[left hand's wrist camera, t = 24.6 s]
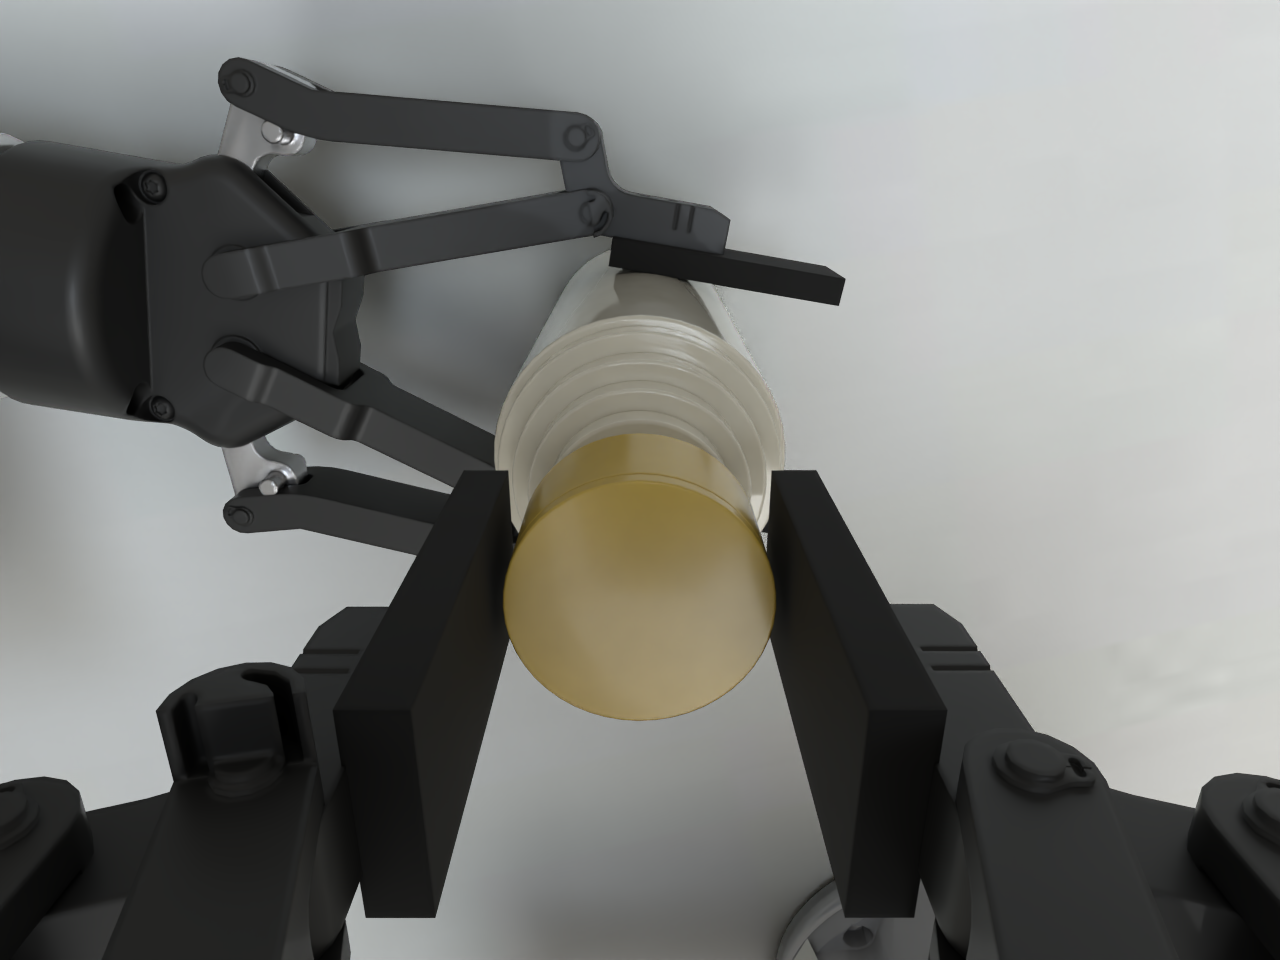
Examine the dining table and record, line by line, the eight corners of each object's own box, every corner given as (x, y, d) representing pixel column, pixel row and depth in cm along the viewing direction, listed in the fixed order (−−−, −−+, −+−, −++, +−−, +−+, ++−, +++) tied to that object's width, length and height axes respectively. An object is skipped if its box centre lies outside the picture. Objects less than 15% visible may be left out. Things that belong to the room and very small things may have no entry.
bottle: (518, 316, 31) (350, 547, 13) (657, 206, 30) (684, 296, 12) (623, 446, 33) (604, 807, 15) (759, 349, 32) (919, 618, 14)
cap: (526, 645, 15) (509, 721, 13) (515, 431, 14) (494, 480, 12) (751, 646, 15) (768, 722, 13) (764, 432, 14) (786, 482, 12)
